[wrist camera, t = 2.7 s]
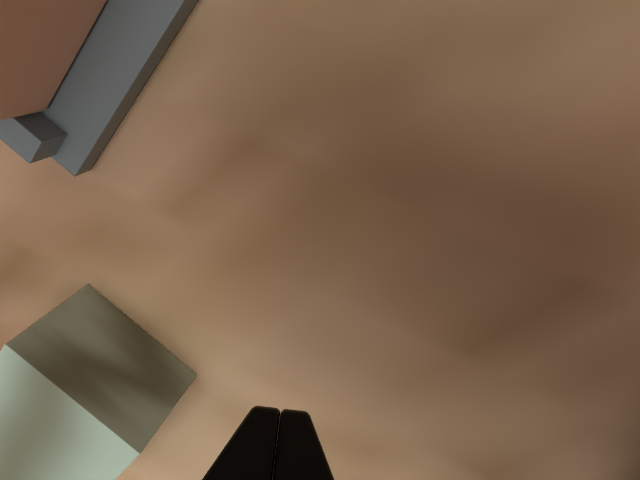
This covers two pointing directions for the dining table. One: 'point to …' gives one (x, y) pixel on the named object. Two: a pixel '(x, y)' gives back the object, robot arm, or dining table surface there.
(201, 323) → the dining table surface
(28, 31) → the terracotta key block
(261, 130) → the dining table surface
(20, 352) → the sage block
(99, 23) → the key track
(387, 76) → the dining table surface
